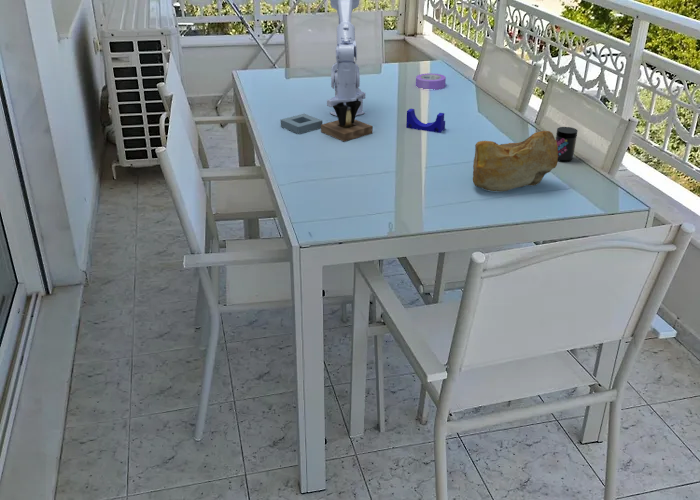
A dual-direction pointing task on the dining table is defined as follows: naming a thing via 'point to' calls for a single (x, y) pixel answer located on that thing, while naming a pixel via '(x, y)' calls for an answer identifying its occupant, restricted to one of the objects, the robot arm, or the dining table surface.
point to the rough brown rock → (514, 162)
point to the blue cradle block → (432, 127)
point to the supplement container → (566, 143)
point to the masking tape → (430, 81)
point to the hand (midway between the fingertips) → (346, 123)
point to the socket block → (346, 130)
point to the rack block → (301, 123)
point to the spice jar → (348, 117)
